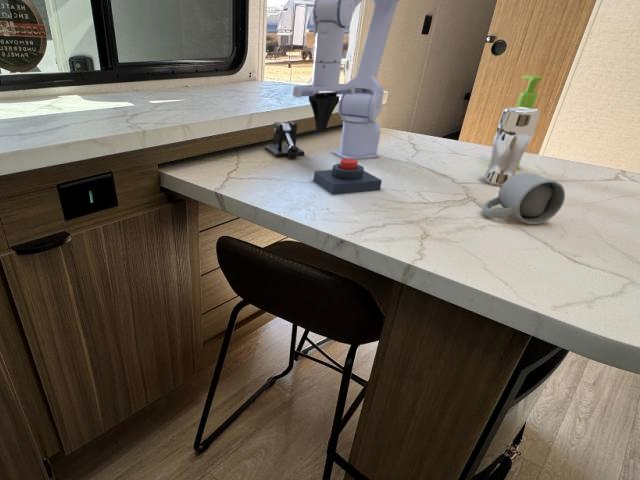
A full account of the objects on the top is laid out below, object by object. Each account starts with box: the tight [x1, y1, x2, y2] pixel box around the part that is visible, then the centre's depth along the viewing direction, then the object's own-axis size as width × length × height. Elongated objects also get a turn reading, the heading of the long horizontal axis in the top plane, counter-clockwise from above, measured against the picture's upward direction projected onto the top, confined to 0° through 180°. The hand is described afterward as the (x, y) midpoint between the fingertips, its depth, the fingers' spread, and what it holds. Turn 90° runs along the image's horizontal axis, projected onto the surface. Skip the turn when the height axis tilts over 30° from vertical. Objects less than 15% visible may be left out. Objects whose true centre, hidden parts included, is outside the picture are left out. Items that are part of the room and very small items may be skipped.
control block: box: [313, 163, 383, 196], centre depth 90 cm, size 11×10×4 cm
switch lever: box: [280, 122, 300, 158], centre depth 111 cm, size 11×3×3 cm
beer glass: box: [482, 106, 541, 187], centre depth 89 cm, size 7×7×15 cm
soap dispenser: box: [515, 75, 543, 171], centre depth 98 cm, size 6×7×20 cm
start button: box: [339, 158, 359, 170], centre depth 89 cm, size 4×4×2 cm
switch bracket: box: [264, 120, 305, 159], centre depth 113 cm, size 10×8×8 cm
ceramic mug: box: [482, 172, 566, 225], centre depth 74 cm, size 11×8×8 cm
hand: (320, 130), depth 95 cm, fingers closed
